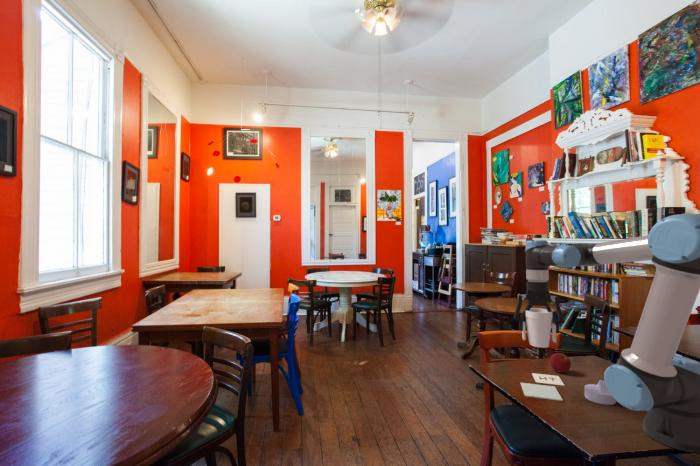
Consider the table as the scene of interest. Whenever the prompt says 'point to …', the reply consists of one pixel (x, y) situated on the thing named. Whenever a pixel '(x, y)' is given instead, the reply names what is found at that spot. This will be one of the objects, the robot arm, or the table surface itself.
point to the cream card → (547, 379)
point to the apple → (560, 362)
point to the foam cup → (538, 326)
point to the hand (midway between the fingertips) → (538, 340)
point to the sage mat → (541, 391)
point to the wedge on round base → (599, 393)
